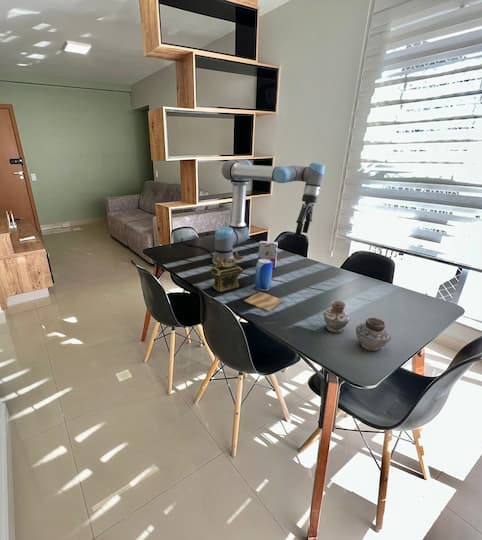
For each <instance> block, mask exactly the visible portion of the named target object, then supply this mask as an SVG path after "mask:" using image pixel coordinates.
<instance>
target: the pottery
mask: <svg viewBox="0 0 482 540" xmlns="http://www.w3.org/2000/svg"><path fill="white" fill-rule="evenodd" d="M345 307H346V303H345V302H344V301H341V300H333V301H331V308H328V309H326V310H324V311H323V320H324V322H325V324H326V329H327V330H328V331H329V332H332V333H341V332H342V331H343V328H345V327H346V326H347V325H348V323H349V322H350V320H351V317H350V315H349V313H347V312H346V311H345ZM386 325H387V324H386V322H385V321H384V320H383V319H380V318H377V317H367V318H365V322H364V323H359V324H357V325H356V327H355V334H356V337H357V339H358V340H359V342H360V345H361V347H362V348H364V349H365V350H368V351H378V350H379V349H380V348H383V347H385V346H386V345H387V344H389V342H390V341H391V339H392V334H391V333H390V331H389V330H387V329H386Z"/></svg>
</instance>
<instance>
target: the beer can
mask: <svg viewBox="0 0 482 540" xmlns="http://www.w3.org/2000/svg"><path fill="white" fill-rule="evenodd" d="M272 266H273V265H272V263H271V260H269V259H259V260H258V259H257V262H256V264H255V277H254V278H255V279H254V288H256V290H257V291H259V292H268V291H269V290H270V289H271V287H272V277H273V268H272Z"/></svg>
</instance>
